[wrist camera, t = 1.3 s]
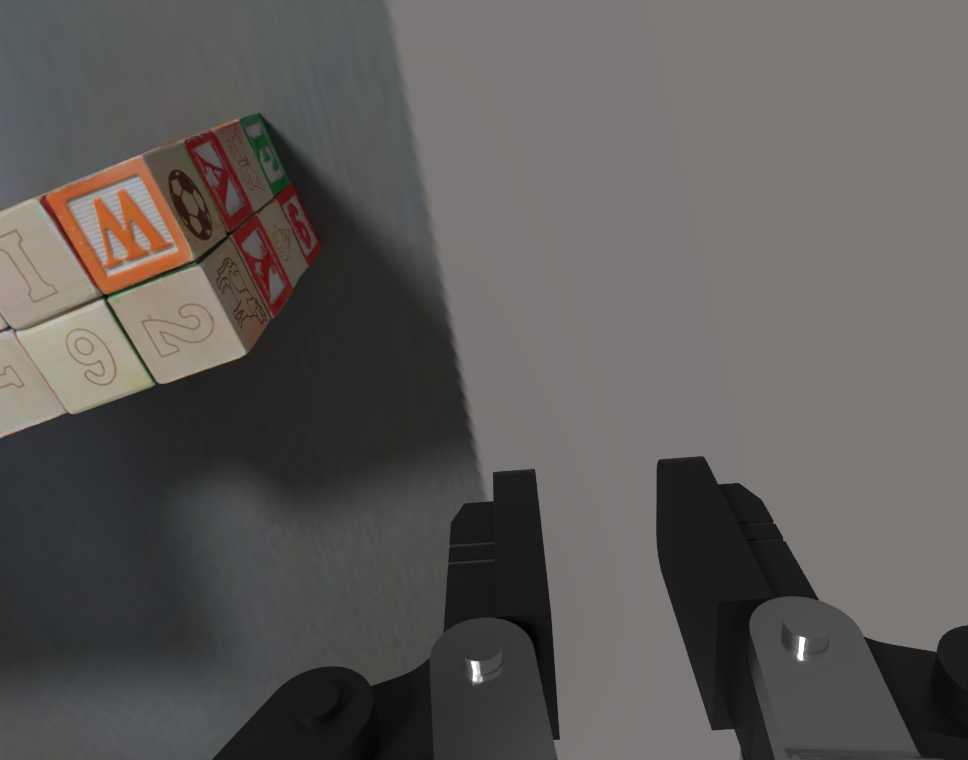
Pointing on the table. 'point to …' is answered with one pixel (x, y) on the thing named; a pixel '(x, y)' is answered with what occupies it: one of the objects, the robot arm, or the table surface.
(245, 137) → the stack of blocks
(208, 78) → the table surface
